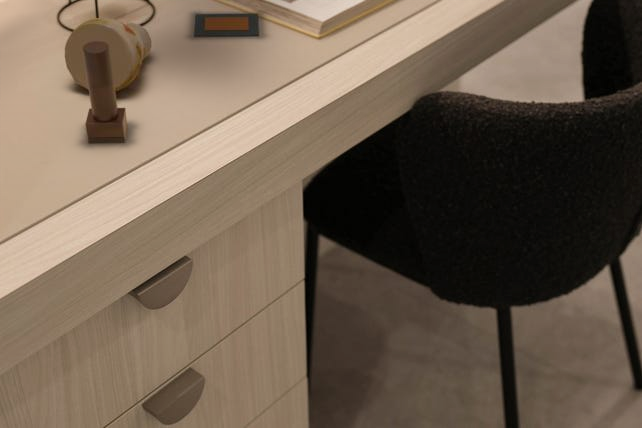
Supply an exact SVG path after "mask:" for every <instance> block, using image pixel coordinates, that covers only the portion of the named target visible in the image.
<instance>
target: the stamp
mask: <svg viewBox="0 0 642 428" xmlns="http://www.w3.org/2000/svg"><path fill="white" fill-rule="evenodd" d="M82 50H83V56H84V63H85V69H86V75H87V82H88V88H89V90H88V93H89V101H90V108H89V109H88V111H87V116H86V120H85V131H86V136H87V142H88V144H125V143H126V141H127V140H126V139H127V134H128V129H129V128H128V118H127V117H128V116H127V111H126V107H118V101H117V95H116V92H115V86H114V79H113V71H112V64H111V56H110V49H109V45H108V44H107V43H105V42H102V41H93V42H89V43H86V44H85V45H84V46H83V47H82Z"/></svg>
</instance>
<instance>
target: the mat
mask: <svg viewBox="0 0 642 428" xmlns="http://www.w3.org/2000/svg"><path fill="white" fill-rule="evenodd" d="M259 29H260V28H259V13H196V14H195V20H194V32H193V33H194V34H193V37H194V38H223V37H224V38H228V37H229V38H235V37H237V38H238V37H239V38H241V37H242V38H245V37H248V38H249V37H250V38H251V37H260V30H259Z"/></svg>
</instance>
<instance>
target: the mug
mask: <svg viewBox="0 0 642 428" xmlns="http://www.w3.org/2000/svg"><path fill="white" fill-rule="evenodd" d="M93 41H102V42H105V43H107V44H108V45H109V49H110V56H111V64H112V71H113V79H114V86H115V93H116V92H118V91H122V90H123V89H125V88H126V87H128V86H129V85H131V83H133V82H134V80H135V79H136V77H137V76H138V75H139V72H140V71H141V69H142V64H143V60H144V59H146V58H147V57H148V55H149V54H150V53H151V49H152V44H153V43H152V38H151V35H150V33H149V31H148V30H147V29H146V28H145V27H143V26H142V25H140V24H138V23H134V22H126V23H123V22H121V21H119V20H116V19H112V18H109V17H96V18H91V19H88V20H86V21H83V22H82V23H81V24H79V25H78V26H76V27H75V29H73V31H72V32H71V33H70V34H69V36H68V37H67V40H66V42H65V45H64V46H65V47H64V60H65V64H66V68H67V70H68V72H69V74H70V76H71V77H72V79H73V81H74V82H75V83H76V84H77V85H79V86H81V87H83V88H84V89H86V90H88V91H89V88H88V82H87V75H86V69H85V63H84V56H83V50H82V47H83V46H84V45H85V44H86V43H89V42H93Z"/></svg>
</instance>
